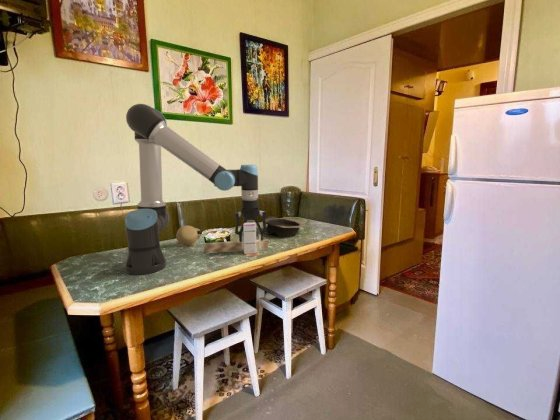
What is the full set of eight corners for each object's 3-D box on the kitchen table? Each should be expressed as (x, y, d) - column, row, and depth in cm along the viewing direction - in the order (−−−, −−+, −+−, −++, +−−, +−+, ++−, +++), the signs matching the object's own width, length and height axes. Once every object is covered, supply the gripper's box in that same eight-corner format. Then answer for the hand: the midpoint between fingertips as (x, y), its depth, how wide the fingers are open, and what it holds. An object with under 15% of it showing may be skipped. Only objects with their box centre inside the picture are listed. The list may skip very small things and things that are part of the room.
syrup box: (256, 253, 140) (256, 222, 137) (243, 254, 139) (243, 223, 136) (255, 249, 145) (255, 220, 143) (243, 250, 144) (242, 220, 142)
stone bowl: (252, 233, 175) (253, 217, 174) (284, 229, 192) (285, 214, 191) (282, 241, 157) (282, 223, 156) (314, 235, 174) (314, 219, 173)
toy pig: (204, 246, 153) (203, 225, 151) (180, 250, 146) (178, 229, 144) (198, 241, 161) (196, 222, 159) (174, 245, 154) (173, 225, 152)
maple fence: (202, 259, 132) (202, 251, 132) (204, 251, 144) (204, 243, 143) (270, 254, 138) (270, 246, 137) (267, 247, 149) (267, 239, 148)
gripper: (227, 201, 132) (229, 251, 136) (273, 199, 136) (274, 248, 140) (227, 198, 139) (229, 246, 143) (270, 197, 143) (271, 244, 147)
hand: (251, 247), depth 142 cm, fingers open, 7 cm apart
